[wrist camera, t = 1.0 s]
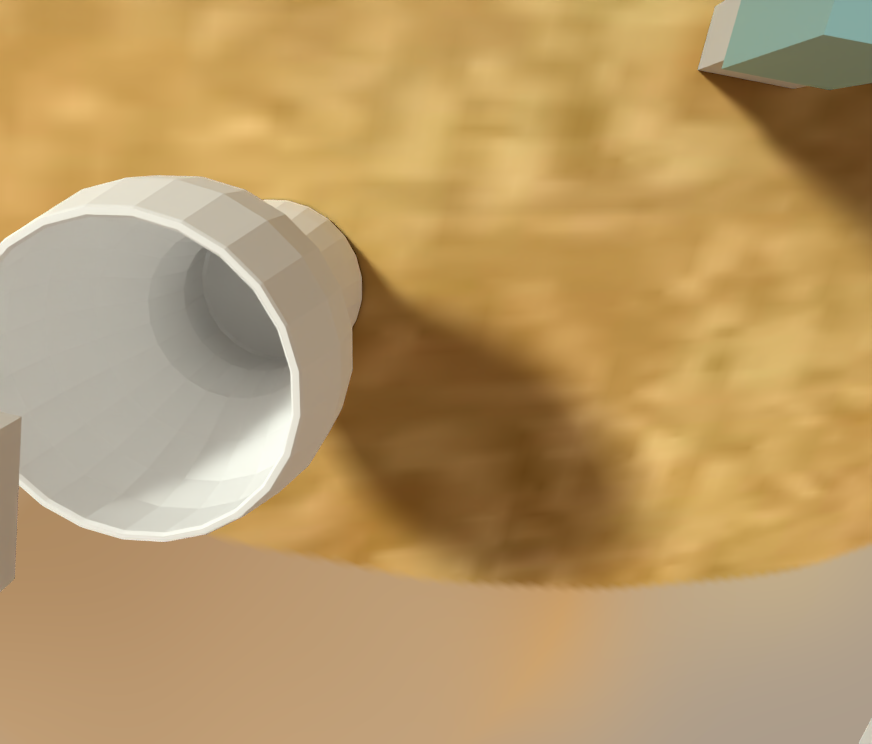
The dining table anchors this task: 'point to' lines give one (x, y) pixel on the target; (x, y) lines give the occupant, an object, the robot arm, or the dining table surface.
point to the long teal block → (791, 42)
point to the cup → (172, 351)
